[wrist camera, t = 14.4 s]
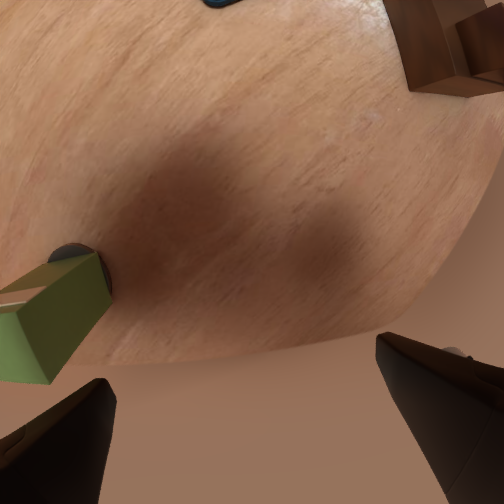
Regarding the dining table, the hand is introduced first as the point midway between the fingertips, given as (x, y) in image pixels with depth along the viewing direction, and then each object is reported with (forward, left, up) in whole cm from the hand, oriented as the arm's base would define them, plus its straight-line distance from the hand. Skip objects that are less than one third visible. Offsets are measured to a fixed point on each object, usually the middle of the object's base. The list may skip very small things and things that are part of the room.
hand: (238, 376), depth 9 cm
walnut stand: (+14, -22, -13) cm, 29 cm away
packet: (-1, +13, -11) cm, 16 cm away
